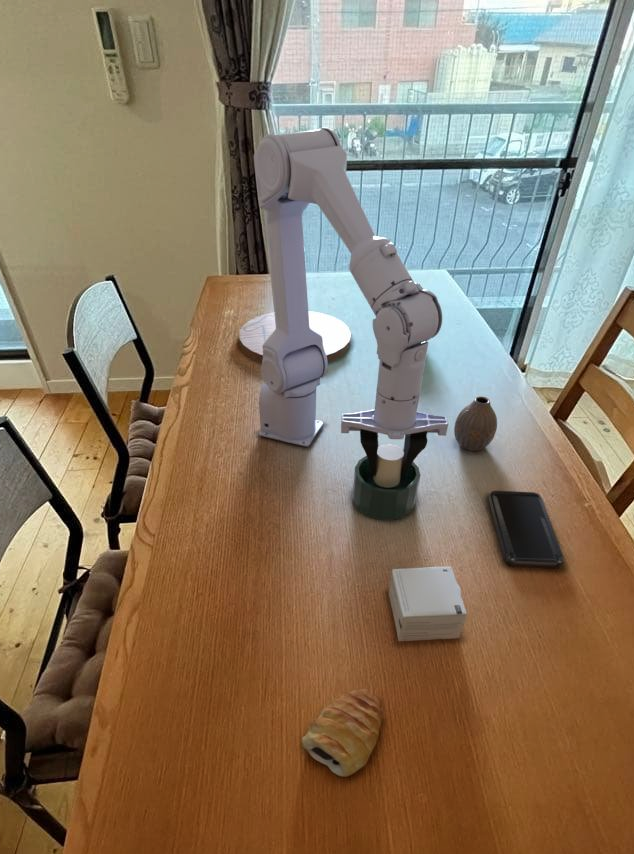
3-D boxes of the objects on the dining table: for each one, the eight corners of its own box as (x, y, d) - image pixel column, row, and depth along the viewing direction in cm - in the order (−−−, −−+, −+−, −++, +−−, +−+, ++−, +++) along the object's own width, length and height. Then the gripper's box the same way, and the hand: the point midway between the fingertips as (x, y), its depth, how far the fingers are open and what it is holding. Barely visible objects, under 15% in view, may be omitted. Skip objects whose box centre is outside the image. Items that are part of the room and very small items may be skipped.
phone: (507, 560, 76) (489, 490, 86) (505, 566, 76) (487, 495, 87) (566, 563, 75) (540, 492, 86) (563, 569, 76) (538, 497, 87)
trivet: (249, 374, 114) (248, 365, 113) (232, 323, 131) (231, 315, 130) (364, 361, 118) (365, 352, 117) (333, 313, 136) (334, 306, 134)
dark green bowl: (344, 510, 84) (346, 482, 81) (363, 474, 91) (366, 446, 87) (405, 526, 82) (410, 498, 78) (421, 488, 88) (426, 460, 84)
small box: (386, 593, 73) (391, 567, 69) (445, 590, 73) (453, 564, 70) (397, 642, 67) (402, 617, 64) (460, 640, 68) (469, 614, 64)
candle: (370, 483, 83) (372, 456, 79) (377, 468, 85) (380, 441, 82) (395, 490, 82) (400, 463, 78) (402, 474, 84) (407, 447, 81)
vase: (491, 458, 94) (505, 413, 88) (450, 453, 95) (460, 408, 89) (490, 435, 99) (503, 391, 93) (451, 431, 100) (461, 387, 94)
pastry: (344, 685, 63) (347, 666, 60) (397, 716, 61) (401, 699, 58) (297, 750, 58) (297, 733, 55) (352, 788, 55) (354, 773, 52)
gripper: (343, 404, 70) (338, 487, 80) (458, 407, 70) (439, 490, 80) (343, 377, 75) (338, 458, 85) (450, 379, 75) (433, 460, 85)
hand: (387, 472), depth 83 cm, fingers closed on candle, 4 cm apart
